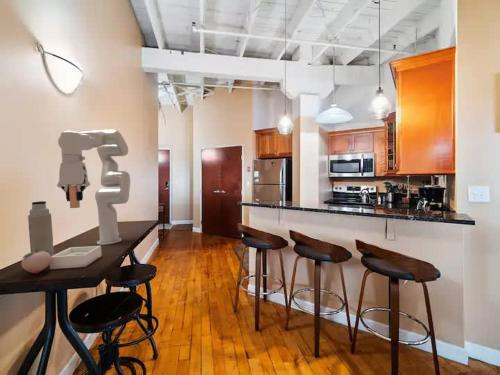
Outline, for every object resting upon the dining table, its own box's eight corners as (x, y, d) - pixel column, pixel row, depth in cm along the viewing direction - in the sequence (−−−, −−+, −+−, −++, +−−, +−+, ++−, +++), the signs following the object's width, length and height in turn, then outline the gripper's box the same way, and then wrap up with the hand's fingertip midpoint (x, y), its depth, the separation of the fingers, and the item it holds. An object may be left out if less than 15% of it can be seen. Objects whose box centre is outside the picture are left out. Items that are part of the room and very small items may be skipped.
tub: (70, 258, 125) (69, 247, 125) (101, 256, 126) (100, 245, 126) (50, 269, 110) (49, 257, 110) (85, 266, 111) (84, 255, 111)
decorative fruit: (36, 278, 100) (34, 252, 100) (18, 277, 102) (16, 252, 101) (57, 269, 109) (56, 245, 109) (41, 268, 111) (39, 245, 110)
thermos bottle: (28, 268, 111) (23, 203, 110) (35, 263, 119) (30, 201, 117) (51, 265, 114) (47, 201, 113) (56, 260, 122) (52, 200, 120)
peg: (73, 207, 119) (71, 185, 119) (81, 207, 120) (80, 185, 119) (68, 208, 116) (67, 185, 115) (77, 207, 116) (75, 185, 116)
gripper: (96, 159, 122) (98, 199, 122) (58, 160, 120) (60, 201, 121) (87, 158, 114) (89, 200, 115) (46, 159, 113) (49, 202, 113)
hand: (74, 200), depth 118 cm, fingers closed on peg, 3 cm apart
